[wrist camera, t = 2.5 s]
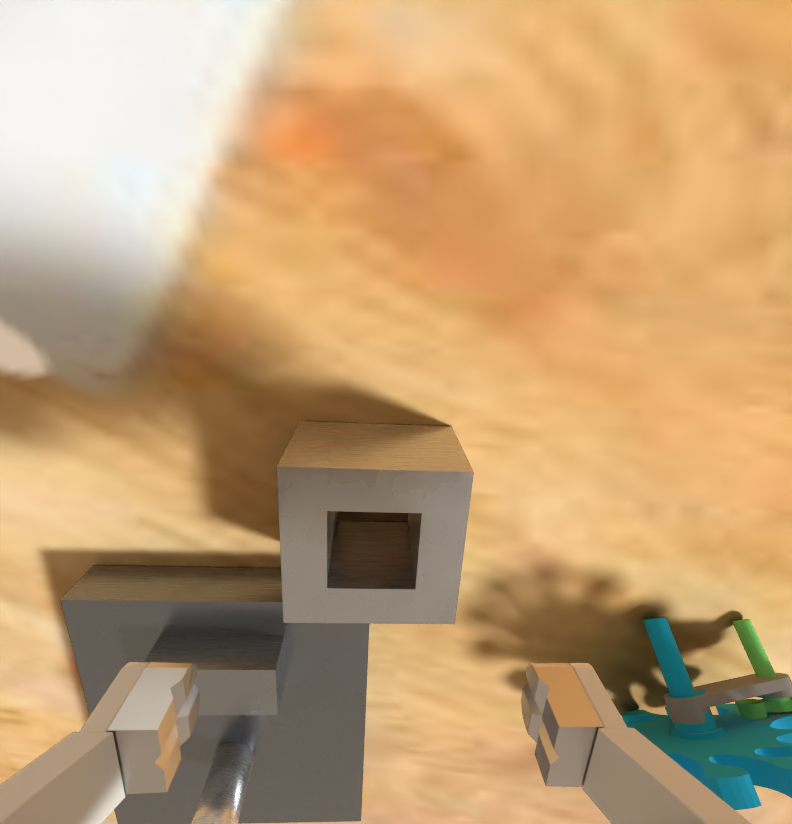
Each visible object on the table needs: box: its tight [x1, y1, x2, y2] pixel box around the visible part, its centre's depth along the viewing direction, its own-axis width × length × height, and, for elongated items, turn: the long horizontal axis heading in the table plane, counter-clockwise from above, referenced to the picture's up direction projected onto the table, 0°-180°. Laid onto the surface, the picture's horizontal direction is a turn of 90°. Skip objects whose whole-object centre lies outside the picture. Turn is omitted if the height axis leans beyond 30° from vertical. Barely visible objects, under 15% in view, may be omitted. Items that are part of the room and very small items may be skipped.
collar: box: [277, 421, 474, 624], centre depth 15 cm, size 6×6×4 cm
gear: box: [621, 617, 792, 810], centre depth 19 cm, size 11×6×10 cm
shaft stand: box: [60, 565, 369, 824], centre depth 17 cm, size 14×12×6 cm
